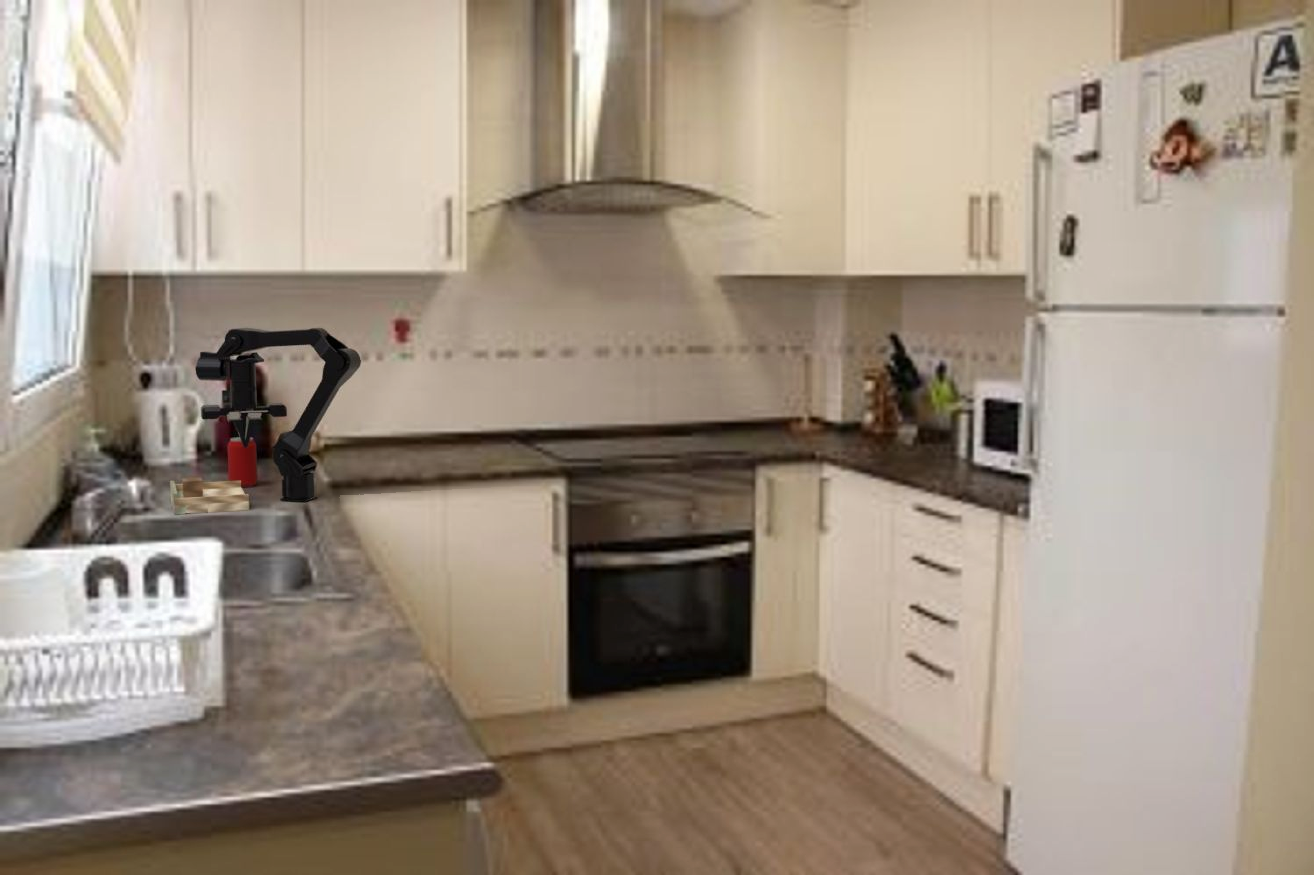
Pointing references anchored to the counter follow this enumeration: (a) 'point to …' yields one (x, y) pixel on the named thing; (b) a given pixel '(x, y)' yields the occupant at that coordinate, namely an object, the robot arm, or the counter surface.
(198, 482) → the walnut block
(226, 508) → the trap track
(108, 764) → the counter surface
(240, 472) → the beverage can
